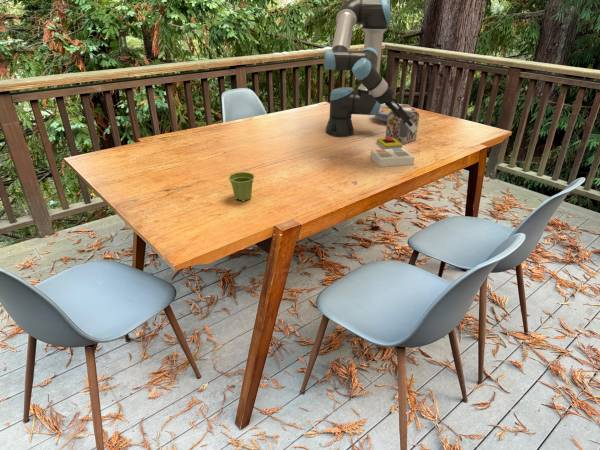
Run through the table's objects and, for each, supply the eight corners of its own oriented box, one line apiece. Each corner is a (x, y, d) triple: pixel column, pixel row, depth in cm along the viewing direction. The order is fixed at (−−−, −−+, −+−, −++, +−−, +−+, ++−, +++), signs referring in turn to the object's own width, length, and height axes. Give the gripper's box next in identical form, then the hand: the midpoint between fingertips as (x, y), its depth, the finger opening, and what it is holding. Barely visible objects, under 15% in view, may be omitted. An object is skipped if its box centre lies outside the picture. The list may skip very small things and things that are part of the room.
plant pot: (231, 192, 160) (229, 172, 156) (255, 192, 161) (254, 171, 156) (229, 204, 152) (227, 182, 148) (255, 203, 153) (254, 181, 148)
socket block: (370, 157, 194) (371, 149, 192) (402, 155, 196) (403, 147, 194) (379, 167, 183) (380, 158, 181) (413, 164, 186) (414, 156, 184)
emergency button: (392, 133, 211) (405, 143, 199) (391, 142, 213) (404, 152, 201) (375, 135, 209) (387, 145, 197) (374, 143, 212) (386, 153, 199)
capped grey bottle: (397, 134, 185) (400, 107, 179) (405, 134, 186) (409, 107, 179) (400, 137, 181) (404, 110, 175) (409, 137, 182) (413, 109, 176)
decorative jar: (402, 145, 208) (407, 109, 199) (384, 139, 216) (388, 104, 207) (416, 140, 215) (422, 105, 206) (398, 134, 223) (402, 100, 214)
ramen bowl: (369, 114, 256) (371, 101, 252) (407, 116, 253) (409, 102, 249) (370, 126, 234) (371, 112, 230) (411, 128, 232) (413, 114, 228)
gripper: (367, 93, 179) (398, 128, 191) (381, 103, 165) (414, 140, 176) (380, 80, 178) (411, 116, 189) (395, 88, 163) (427, 127, 174)
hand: (412, 128), depth 183 cm, fingers closed on capped grey bottle, 4 cm apart
